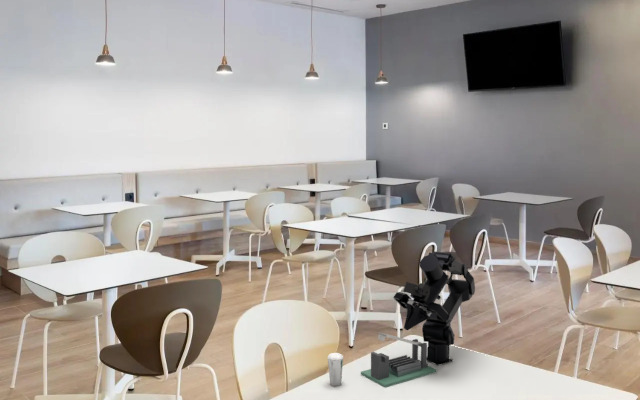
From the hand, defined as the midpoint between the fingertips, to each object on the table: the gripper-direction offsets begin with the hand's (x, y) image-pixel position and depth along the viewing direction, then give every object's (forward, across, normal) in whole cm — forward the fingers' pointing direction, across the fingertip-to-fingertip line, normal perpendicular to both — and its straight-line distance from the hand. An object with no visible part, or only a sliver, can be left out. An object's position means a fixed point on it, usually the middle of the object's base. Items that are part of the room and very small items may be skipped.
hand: (405, 329), depth 184 cm
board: (+11, -1, +8) cm, 14 cm away
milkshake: (+25, -5, -6) cm, 26 cm away
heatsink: (+10, 0, +9) cm, 14 cm away
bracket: (+5, 0, +14) cm, 15 cm away
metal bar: (+4, -1, +2) cm, 5 cm away
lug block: (+16, -1, +3) cm, 17 cm away
